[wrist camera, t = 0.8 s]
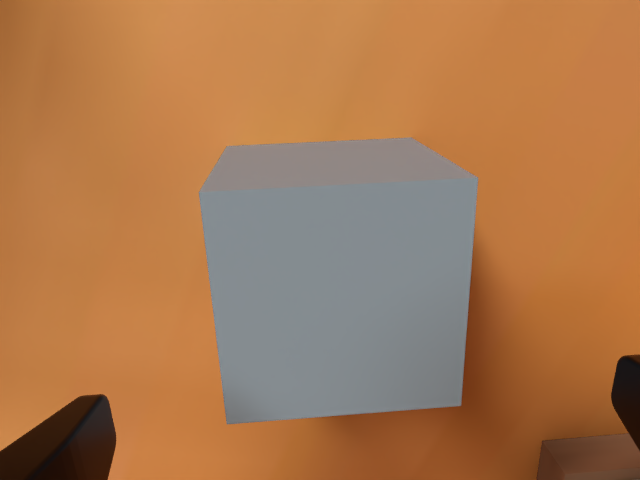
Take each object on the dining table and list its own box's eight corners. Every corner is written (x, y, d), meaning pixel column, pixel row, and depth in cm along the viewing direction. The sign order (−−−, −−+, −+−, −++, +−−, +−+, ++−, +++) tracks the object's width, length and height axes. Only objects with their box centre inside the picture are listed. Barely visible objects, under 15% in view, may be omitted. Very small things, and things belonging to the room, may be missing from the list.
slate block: (410, 137, 17) (478, 177, 11) (406, 300, 19) (461, 405, 13) (227, 145, 16) (199, 191, 11) (243, 311, 18) (226, 423, 13)
